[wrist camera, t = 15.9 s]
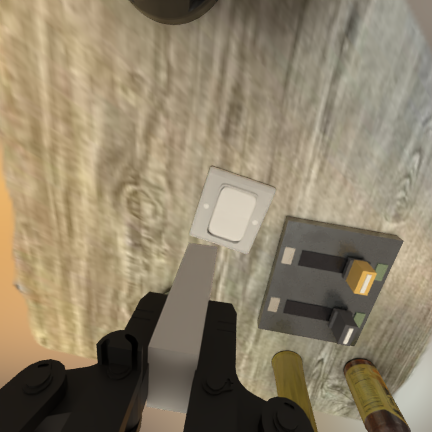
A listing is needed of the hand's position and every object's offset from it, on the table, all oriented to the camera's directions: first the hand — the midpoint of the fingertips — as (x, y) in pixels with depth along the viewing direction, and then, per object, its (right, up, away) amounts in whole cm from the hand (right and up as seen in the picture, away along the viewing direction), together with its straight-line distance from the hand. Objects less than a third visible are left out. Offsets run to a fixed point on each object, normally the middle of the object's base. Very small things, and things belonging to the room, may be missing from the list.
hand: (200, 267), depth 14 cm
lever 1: (+22, -15, +32) cm, 42 cm away
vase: (+15, -27, +40) cm, 51 cm away
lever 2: (+23, -6, +29) cm, 37 cm away
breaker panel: (+19, -9, +33) cm, 39 cm away
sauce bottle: (+29, -28, +39) cm, 56 cm away
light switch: (+3, +4, +30) cm, 31 cm away
